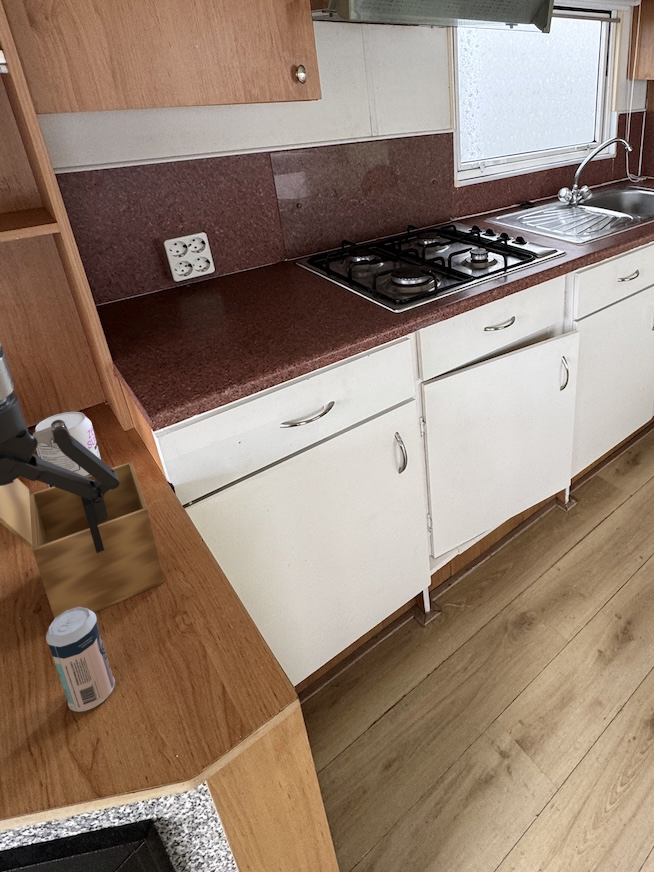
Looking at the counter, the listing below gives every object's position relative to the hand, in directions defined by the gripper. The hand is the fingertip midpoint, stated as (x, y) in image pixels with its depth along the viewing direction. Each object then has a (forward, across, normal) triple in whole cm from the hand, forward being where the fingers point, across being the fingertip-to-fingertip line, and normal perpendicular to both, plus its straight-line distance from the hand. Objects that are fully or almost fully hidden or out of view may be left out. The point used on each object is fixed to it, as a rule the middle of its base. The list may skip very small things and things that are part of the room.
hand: (25, 575), depth 63 cm
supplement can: (+19, +6, +44) cm, 49 cm away
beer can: (+20, +2, -1) cm, 20 cm away
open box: (+19, +7, +20) cm, 29 cm away
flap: (+2, 0, +20) cm, 20 cm away
